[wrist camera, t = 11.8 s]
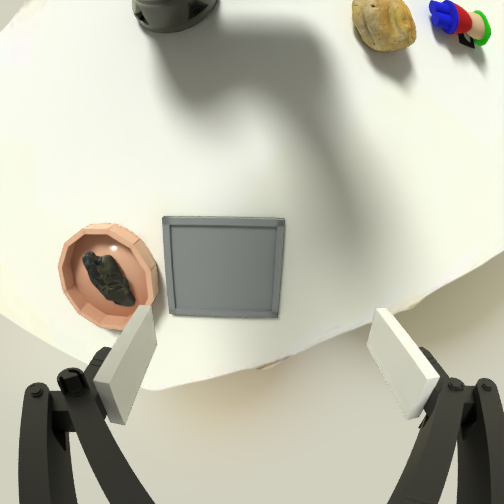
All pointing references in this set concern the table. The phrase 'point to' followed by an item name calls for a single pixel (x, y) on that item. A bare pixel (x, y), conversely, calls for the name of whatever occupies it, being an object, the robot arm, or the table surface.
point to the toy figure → (461, 22)
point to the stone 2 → (384, 24)
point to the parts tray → (223, 265)
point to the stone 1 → (108, 279)
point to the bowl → (131, 266)
